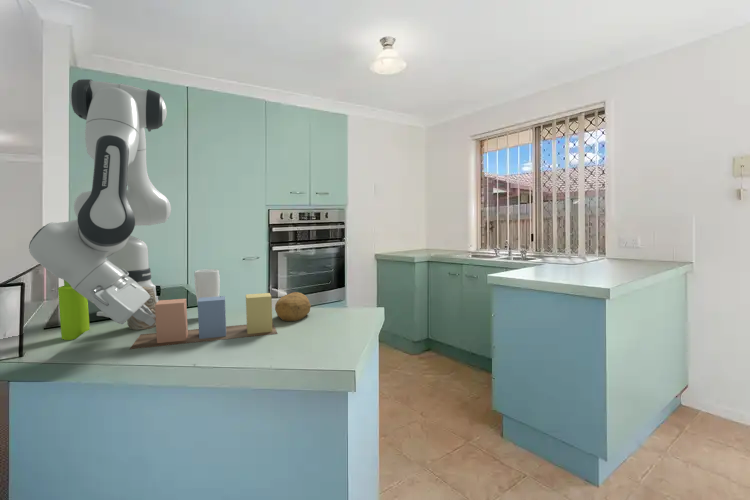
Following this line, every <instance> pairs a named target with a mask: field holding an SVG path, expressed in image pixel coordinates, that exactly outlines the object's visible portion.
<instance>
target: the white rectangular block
mask: <svg viewBox="0 0 750 500" xmlns="http://www.w3.org/2000/svg"><path fill="white" fill-rule="evenodd" d="M220 279H221V276H220V270H219V269H217V268H215V269H211V268H207V269H206V268H205V269H197V270H195V271H194V287H195V288H194V289H195V296H196V303H197V304H196V305H198V299H199V298H203V297H218V296H220V288H221V287H220V285H221V280H220Z"/></svg>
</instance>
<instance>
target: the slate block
mask: <svg viewBox="0 0 750 500" xmlns="http://www.w3.org/2000/svg"><path fill="white" fill-rule="evenodd" d="M197 314H198V315H197V318H198V319H197V321H198V329H199V339H204V338H214V337H224V336H226V326H227V314H226V296H225V295H223V296H222V295H221V296H220V295H219V296H218V297H203V298H199V299H198V304H197Z"/></svg>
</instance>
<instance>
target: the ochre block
mask: <svg viewBox="0 0 750 500" xmlns="http://www.w3.org/2000/svg"><path fill="white" fill-rule="evenodd" d="M272 299H273V298H272V295H271V293H270V292H265V293H249V294H248V293H247V294H245V313H246V325H247V333H248V334H253V333H263V332H273V330H272V322H273V305H272V304H273V303H272V302H273V300H272Z"/></svg>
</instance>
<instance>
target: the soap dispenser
mask: <svg viewBox="0 0 750 500" xmlns="http://www.w3.org/2000/svg"><path fill="white" fill-rule="evenodd" d="M57 292H58V294H57V295H58V307H59V309H58V310H59V319H60V320H59V322H60V323H59V324H60V334H61V335H60V336H61V340H63V339H64V341H71V340H73V339H75V340H76V339H78V338H79V337H80V336H82V335H83V334H85V333H86V332H88V331H90V329H91V328H90V314H89V312H90V310H89V300H88V299H86V298H85V297H84V296H82V295H81V294H79V293H78V292H77V291H75V290H74V289H73V288H72V287H71V285H70V284H69V283H68V282H67V281H65V280H63V285H62V286H59V287H58V288H57Z"/></svg>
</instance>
